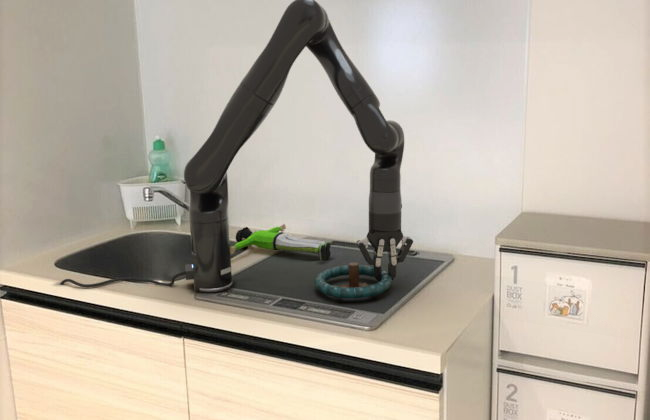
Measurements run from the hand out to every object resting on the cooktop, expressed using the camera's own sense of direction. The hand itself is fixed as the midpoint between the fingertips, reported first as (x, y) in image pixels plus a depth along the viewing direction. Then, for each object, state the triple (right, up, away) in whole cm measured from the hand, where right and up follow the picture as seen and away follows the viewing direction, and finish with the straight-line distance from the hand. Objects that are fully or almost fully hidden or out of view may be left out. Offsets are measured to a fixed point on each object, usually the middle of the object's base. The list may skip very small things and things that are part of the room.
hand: (384, 279), depth 162 cm
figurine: (-26, +4, +32) cm, 42 cm away
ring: (-8, 0, -2) cm, 8 cm away
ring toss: (-7, -4, -1) cm, 8 cm away
